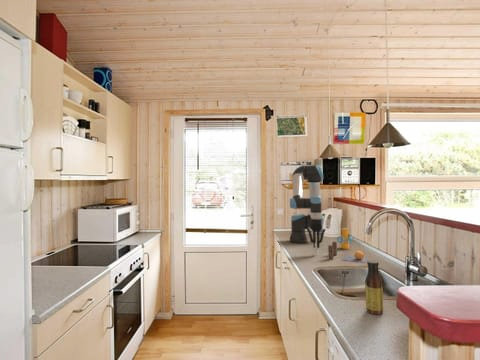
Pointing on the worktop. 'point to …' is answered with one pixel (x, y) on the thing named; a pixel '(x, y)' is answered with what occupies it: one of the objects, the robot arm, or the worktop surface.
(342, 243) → the orange blue column
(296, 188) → the robot arm
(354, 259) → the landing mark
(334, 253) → the post
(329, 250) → the post
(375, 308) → the sauce bottle
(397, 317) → the worktop surface
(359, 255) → the ball
